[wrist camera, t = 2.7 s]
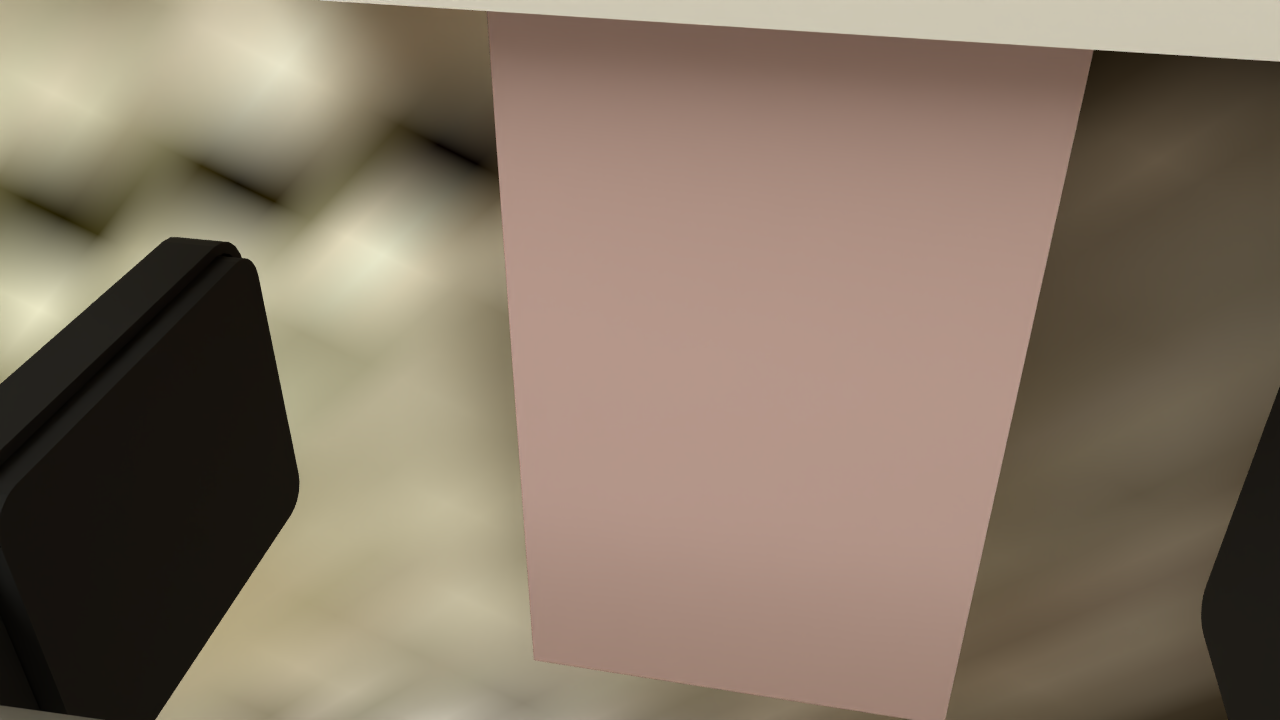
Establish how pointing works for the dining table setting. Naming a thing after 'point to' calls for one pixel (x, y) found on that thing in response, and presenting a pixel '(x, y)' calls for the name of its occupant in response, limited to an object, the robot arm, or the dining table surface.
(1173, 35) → the cream block
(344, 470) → the dining table surface
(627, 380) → the tray
